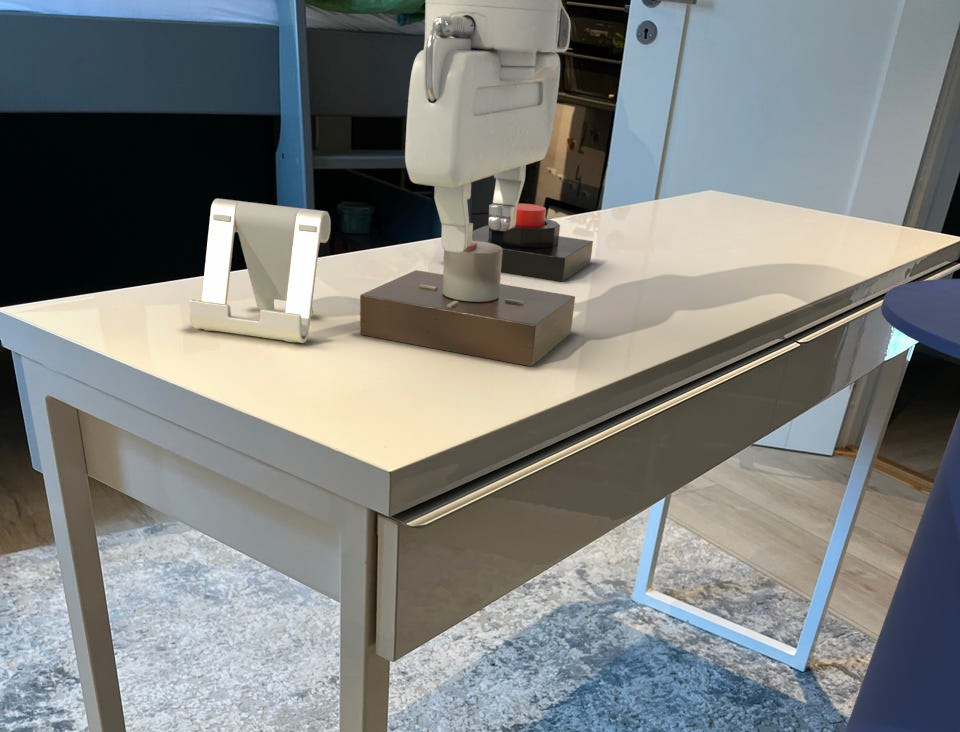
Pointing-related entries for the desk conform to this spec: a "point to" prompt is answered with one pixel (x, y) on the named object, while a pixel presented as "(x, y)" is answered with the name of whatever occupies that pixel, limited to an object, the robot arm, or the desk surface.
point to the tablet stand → (262, 268)
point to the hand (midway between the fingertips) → (480, 239)
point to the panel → (467, 319)
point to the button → (530, 215)
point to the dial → (473, 273)
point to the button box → (538, 250)
